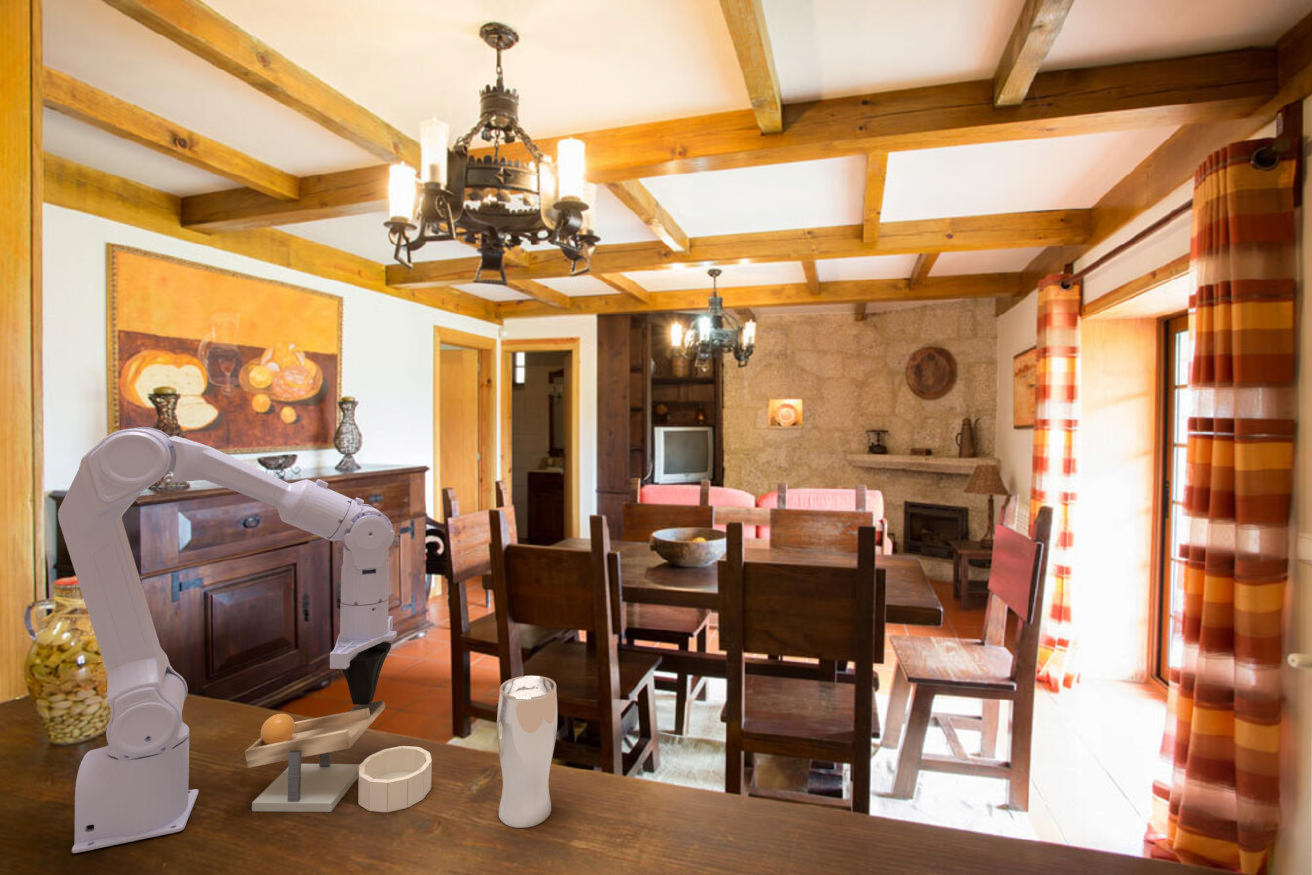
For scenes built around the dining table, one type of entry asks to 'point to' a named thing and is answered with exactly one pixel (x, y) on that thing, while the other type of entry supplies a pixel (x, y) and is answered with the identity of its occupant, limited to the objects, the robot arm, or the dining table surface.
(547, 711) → the beer glass
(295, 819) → the dining table surface
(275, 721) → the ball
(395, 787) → the cup
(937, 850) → the dining table surface
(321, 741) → the tilting wooden tray
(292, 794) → the stand
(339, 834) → the dining table surface
